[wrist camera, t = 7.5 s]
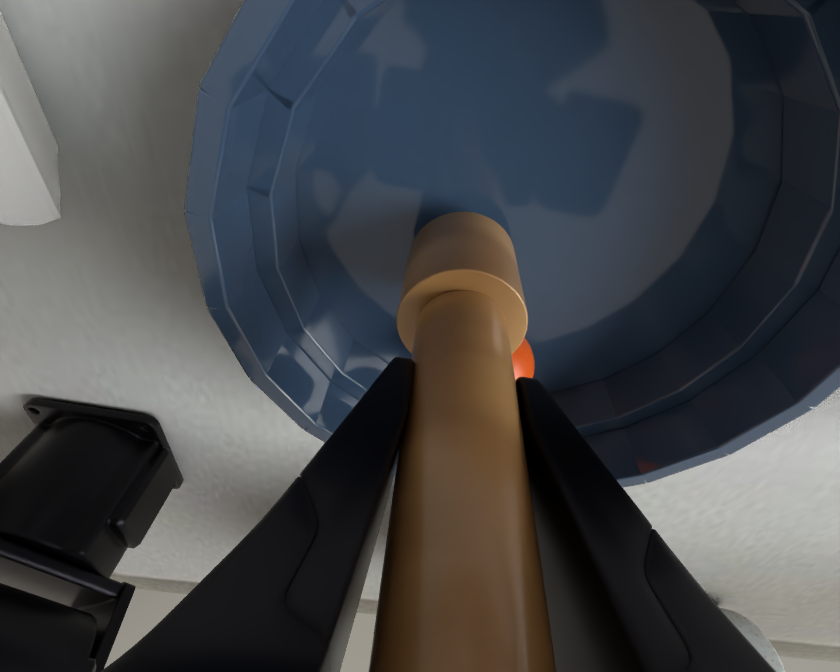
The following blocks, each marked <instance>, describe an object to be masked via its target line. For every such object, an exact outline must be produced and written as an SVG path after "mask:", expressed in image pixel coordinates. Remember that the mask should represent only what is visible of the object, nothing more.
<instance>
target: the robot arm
mask: <svg viewBox="0 0 840 672" xmlns="http://www.w3.org/2000/svg"><path fill="white" fill-rule="evenodd" d="M413 367H414V361H413V360H412V359H409V358H402V357H394V358H393V359H392V360H391V362H390V363H389V364H388V365H387V367H386V368H385V369H384V370H383V372H382V373H381V374H380V375H379V377H378V378H377V379H376V380H375V382H374V383H373V384H372V385H371V386H370V388H369V389H368V390H367V391H366V393H365V394H364V395H363V396H362V398H361V399H360V400H359V401H358V403H357V404H356V405H355V406H354V408H353V409H352V410H351V411H350V413H349V414H348V415H347V416H346V418H345V419H344V420H343V421H342V423H341V424H340V425H339V426H338V428H337V429H336V430H335V431H334V432H333V434H332V435H331V436H330V437H329V439H328V440H327V441H326V442H325V444H324V445H323V446H322V447H321V449H320V450H319V451H318V452H317V454H316V455H315V456H314V457H313V459H312V460H311V461H310V462H309V464H308V465H307V466H306V467H305V469H304V470H303V471H302V472H301V474H300V477H297V478H296V479H295V481H294V482H293V483H292V484H291V486H290V487H289V488H288V489H287V491H286V492H285V493H284V494H283V495H282V497H281V498H280V499H279V500H278V501H277V502H276V504H275V505H274V506H273V507H272V508H271V509H270V511H269V512H268V513H267V514H266V515H265V516H264V518H263V519H262V520H261V521H260V522H259V523H258V524H257V525H256V526H255V527H254V528H253V529H252V530H251V531H250V532H249V533H248V535H247V536H246V537H245V538H244V539H243V540H242V541H241V542H240V543H239V544H238V545H237V546H236V547H235V548H234V549H233V550H232V551H231V552H230V553H229V554H228V555H227V556H226V557H225V558H224V559H223V560H222V561H221V562H220V563H219V564H218V565H217V566H216V567H215V568H214V569H213V570H212V571H211V572H210V573H209V574H208V575H207V576H206V577H205V578H204V579H203V580H202V581H201V582H200V583H199V584H198V585H197V586H196V587H195V588H194V589H193V590H192V591H191V592H190V593H189V594H188V595H187V596H186V597H185V598H184V599H183V600H182V601H181V602H180V603H179V604H178V605H177V606H176V607H175V608H174V609H173V610H172V611H171V612H170V613H169V614H168V615H167V616H166V617H165V618H164V619H163V620H162V621H161V622H160V623H158V625H157V626H155V627H154V628H153V629H152V630H151V631H150V632H149V633H148V634H147V635H146V636H145V637H143V638H142V639H141V640H140V641H139V642H138V643H137V644H135V645H134V646H133V647H132V648H131V649H129V650H128V651H127V652H126V653H125V654H123V655H122V656H121V657H120V658H118V659H117V660H116V661H114V662H113V663H112V664H110V665H109V666H108V667H106V668H105V669H104V666H105V664H106V662H107V659H108V657H109V654H110V651H111V649H112V646H113V644H114V641H115V638H116V636H117V634H118V631H119V628H120V626H121V623H122V621H123V618H124V616H125V613H126V610H127V608H128V606H129V603H130V601H131V598H132V596H133V593H134V590H135V586H134V585H131V584H129V583H126V582H123V583H120V582H117V581H115V580H112V579H110V576H111V574H112V573H113V571H114V569H115V568H116V566H117V564H118V563H119V561H120V559H121V558H122V556H123V554H124V553H125V551H126V550H127V548H135V547H136V546H138V545H139V544H140V543H141V542H142V540H143V538H144V536H145V535H146V533H147V531H148V530H149V528H150V526H151V524H152V523H153V521H154V519H155V518H156V516H157V514H158V513H159V511H160V509H161V507H162V506H163V504H164V502H165V501H166V499H167V497H168V496H169V494H170V492H171V490H172V489H178V488H180V486H181V484H182V483H183V478H182V475H181V473H180V470H179V468H178V466H177V463H176V461H175V459H174V456H173V454H172V452H171V449H170V447H169V444H168V442H167V440H166V437H165V435H164V433H163V430H162V428H161V426H160V423H159V422H158V420H156V419H155V418H153V417H151V416H147V415H141V414H135V413H128V412H122V411H115V410H109V409H102V408H96V407H90V406H83V405H77V404H70V403H64V402H57V401H51V400H44V399H38V398H32V399H30V400H29V401H28V402H27V403H26V404H24V406H23V408H24V410H25V411H26V412H27V414H28V415H29V416H30V418H31V419H32V420H33V422H34V423H35V424H36V427H35V428H34V429H33V430H32V431H31V432H30V433H29V434H28V435H27V436H26V437H25V438H24V440H23V441H22V442H21V443H20V444H19V445H18V446H17V447H16V448H15V449H14V450H13V451H12V452H11V453H10V454H9V455H8V456H7V457H6V458H5V459H4V460H3V461H2V462H1V463H0V672H340V669H341V665H342V662H343V658H344V655H345V651H346V647H347V644H348V640H349V637H350V633H351V629H352V626H353V622H354V618H355V615H356V611H357V608H358V604H359V601H360V597H361V593H362V590H363V586H364V583H365V579H366V575H367V572H368V568H369V565H370V561H371V557H372V554H373V550H374V547H375V543H376V539H377V536H378V532H379V529H380V525H381V521H382V518H383V514H384V511H385V507H386V503H387V500H388V496H389V493H390V489H391V485H392V482H393V478H394V475H395V471H396V467H397V461H398V454H399V446H400V442H401V438H402V434H403V430H404V426H405V422H406V417H407V412H408V407H409V401H410V393H411V385H412V376H413ZM515 382H516V389H517V396H518V403H519V410H520V417H521V424H522V431H523V438H524V446H525V453H526V460H527V467H528V474H529V481H530V488H531V495H532V502H533V509H534V516H535V523H536V530H537V538H538V545H539V552H540V559H541V566H542V573H543V580H544V587H545V594H546V601H547V608H548V615H549V622H550V630H551V637H552V644H553V651H554V658H555V665H556V672H776V671H775V670H774V669H773V667H772V666H771V665H770V664H769V663H768V662H767V661H766V660H765V659H764V657H763V656H762V655H761V654H760V653H759V652H758V651H757V650H756V648H755V647H754V646H753V645H752V644H751V643H750V642H749V641H748V640H747V638H746V637H745V636H744V635H743V634H742V633H741V632H740V631H739V629H738V628H737V627H736V626H735V625H734V624H733V623H732V622H731V621H730V619H729V618H728V617H727V616H726V615H725V614H724V613H723V611H722V610H721V609H720V608H719V607H718V606H717V605H716V603H715V602H714V601H713V600H712V599H711V598H710V596H709V595H708V594H707V593H706V592H705V591H704V590H703V588H702V587H701V586H700V585H699V584H698V583H697V581H696V580H695V579H694V578H693V577H692V575H691V574H690V573H689V572H688V570H687V569H686V568H685V567H684V565H683V564H682V563H681V562H680V560H679V559H678V558H677V557H676V555H675V554H674V553H673V552H672V551H671V549H670V548H669V547H668V545H667V544H666V543H665V542H664V540H663V539H662V538H661V536H660V535H659V534H658V533H657V531H656V530H654V529H652V525H651V524H650V523H649V521H648V520H647V519H646V517H645V516H644V515H643V514H642V512H641V511H640V510H639V508H638V507H637V506H636V505H635V503H634V502H633V501H632V499H631V498H630V497H629V496H628V494H627V493H626V492H625V490H624V489H623V488H622V487H621V485H620V484H619V483H618V481H617V480H616V479H615V477H614V476H613V475H612V474H611V472H610V471H609V470H608V468H607V467H606V466H605V465H604V463H603V462H602V461H601V459H600V458H599V457H598V456H597V454H596V453H595V452H594V450H593V449H592V448H591V447H590V445H589V444H588V443H587V441H586V440H585V439H584V438H583V436H582V435H581V434H580V432H579V431H578V430H577V429H576V427H575V426H574V425H573V423H572V422H571V421H570V420H569V418H568V417H567V416H566V414H565V413H564V412H563V411H562V409H561V408H560V407H559V405H558V404H557V403H556V402H555V400H554V399H553V398H552V396H551V395H550V394H549V393H548V391H547V390H546V389H545V387H544V386H543V385H542V384H541V382H540V381H539V380H537V379H534V378H528V377H518V378H517V379H516V381H515Z"/></svg>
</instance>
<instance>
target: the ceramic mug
mask: <svg viewBox="0 0 840 672" xmlns="http://www.w3.org/2000/svg"><path fill="white" fill-rule="evenodd" d="M720 609H721V610H722V611H723V613H724V614H725V615H726V616H727V617H728V618H729V619H730V621H731V622H732V623H733V624H734V625H735V626H736V627H737V628H738V629H739V631H740V632H741V633H742V634H743V635H744V636H745V637H746V638H747V640H748V641H749V642H750V643H751V644H752V645H753V646H754V647H755V648H756V650H757V651H758V652H759V653H760V654H761V655H762V656H763V657H764V659H765V660H766V661H767V662H768V663H769V664H770V665H771V666H772V667H773V669H774V670H775V671H776V672H786V671H785V669H784V666H783V664H782V662H781V660H780V658H779V656H778V654H777V652H776V651H775V649H774V647H773V646H772V644H771V643H770V641H769V640H768V639H767V637H766V636H765V635H764V634H763V633H762V632H761V630H760V629H759V628H758V627H757V626H756V625H755V624H753V623H752V622H751V621H750V620H748V619H747V618H745V617H744V616H742V615H740V614H738V613H736V612H734V611H731V610H727V609H722V608H720Z"/></svg>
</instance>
